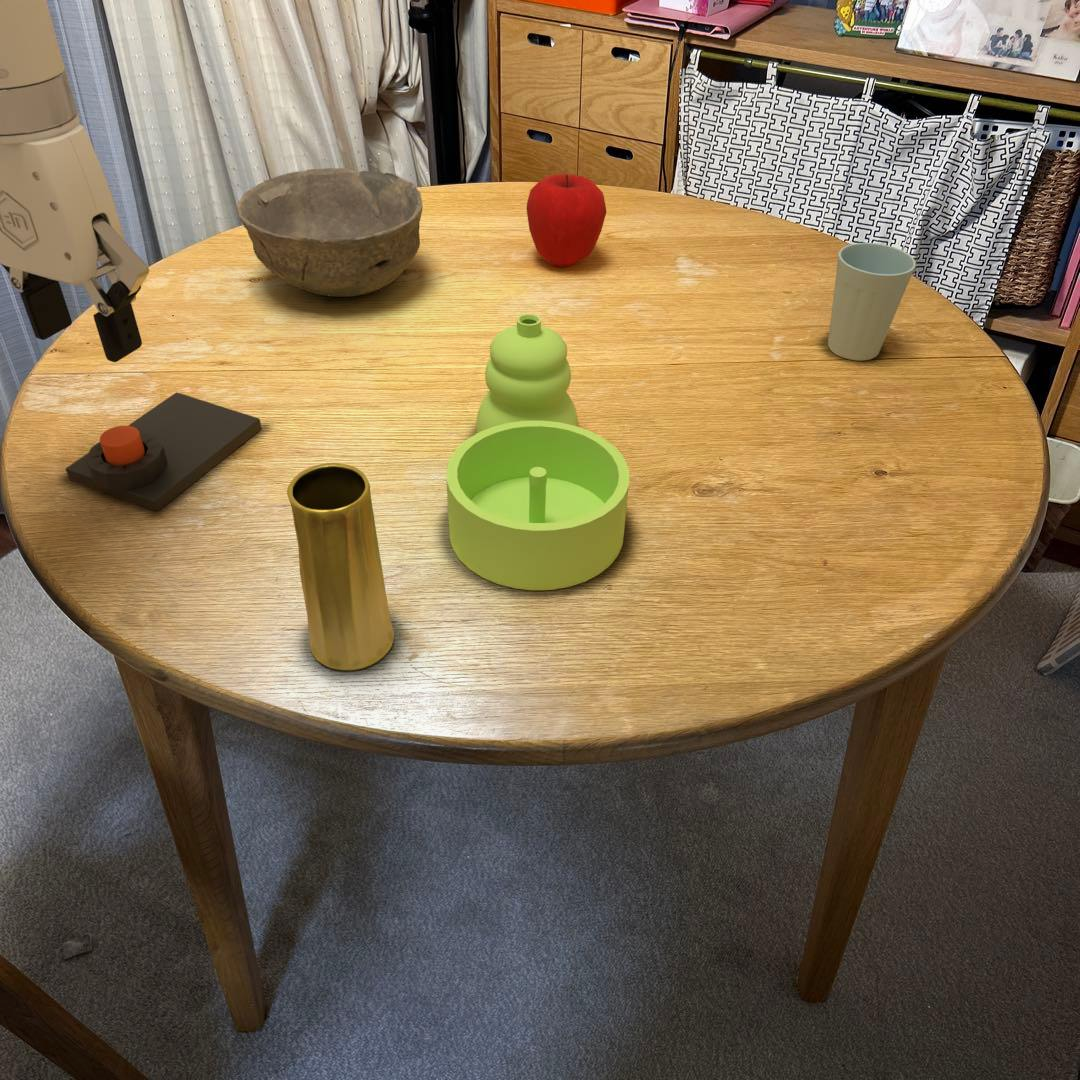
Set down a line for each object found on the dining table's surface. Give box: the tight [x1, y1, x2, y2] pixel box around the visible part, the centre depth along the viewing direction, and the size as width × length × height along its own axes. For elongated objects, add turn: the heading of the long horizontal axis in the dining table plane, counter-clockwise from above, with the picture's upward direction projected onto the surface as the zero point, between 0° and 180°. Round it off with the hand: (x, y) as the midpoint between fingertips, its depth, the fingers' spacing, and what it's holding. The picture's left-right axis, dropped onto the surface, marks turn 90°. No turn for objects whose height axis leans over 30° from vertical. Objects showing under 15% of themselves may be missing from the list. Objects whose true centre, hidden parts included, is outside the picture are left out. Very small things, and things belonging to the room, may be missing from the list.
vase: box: [286, 462, 395, 671], centre depth 66 cm, size 6×6×14 cm
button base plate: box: [65, 392, 262, 513], centre depth 86 cm, size 15×10×3 cm
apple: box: [526, 173, 608, 268], centre depth 116 cm, size 10×10×11 cm
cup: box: [827, 242, 917, 362], centre depth 102 cm, size 8×8×10 cm
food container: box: [445, 313, 631, 591], centre depth 80 cm, size 25×15×13 cm, turn 4°
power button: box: [99, 425, 145, 465], centre depth 82 cm, size 3×3×2 cm
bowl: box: [236, 167, 424, 298], centre depth 111 cm, size 21×21×10 cm
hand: (89, 341), depth 76 cm, fingers open, 6 cm apart
